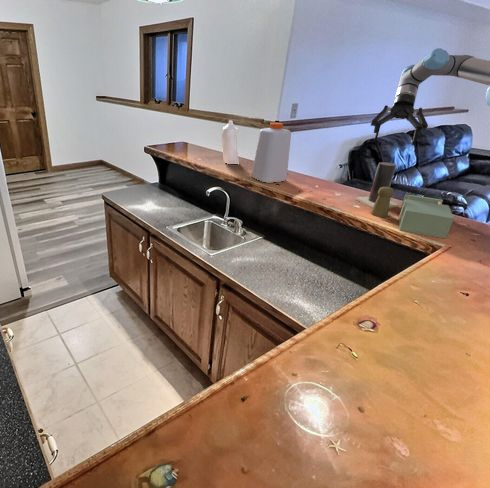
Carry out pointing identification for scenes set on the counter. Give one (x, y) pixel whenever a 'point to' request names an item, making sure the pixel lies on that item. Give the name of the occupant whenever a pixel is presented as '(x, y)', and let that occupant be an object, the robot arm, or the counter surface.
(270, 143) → the plastic bottle
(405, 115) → the robot arm
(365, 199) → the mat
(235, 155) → the pale pink bottle
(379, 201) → the olive pawn shaped piece
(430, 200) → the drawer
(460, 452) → the counter surface
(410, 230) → the green beveled box
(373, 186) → the dark brown rectangular block
